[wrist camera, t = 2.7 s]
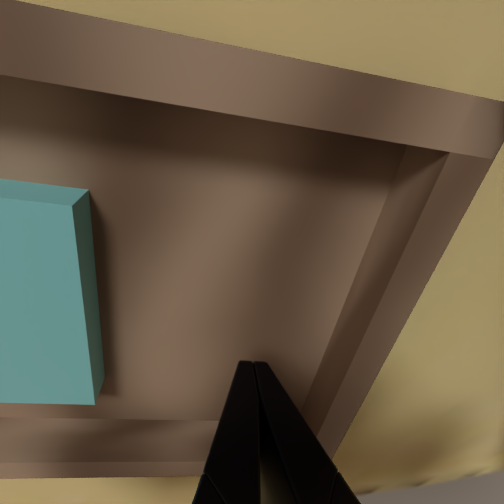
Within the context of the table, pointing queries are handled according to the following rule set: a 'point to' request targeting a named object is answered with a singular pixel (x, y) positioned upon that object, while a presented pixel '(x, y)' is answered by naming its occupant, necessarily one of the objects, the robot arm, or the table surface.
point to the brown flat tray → (227, 226)
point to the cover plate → (48, 296)
